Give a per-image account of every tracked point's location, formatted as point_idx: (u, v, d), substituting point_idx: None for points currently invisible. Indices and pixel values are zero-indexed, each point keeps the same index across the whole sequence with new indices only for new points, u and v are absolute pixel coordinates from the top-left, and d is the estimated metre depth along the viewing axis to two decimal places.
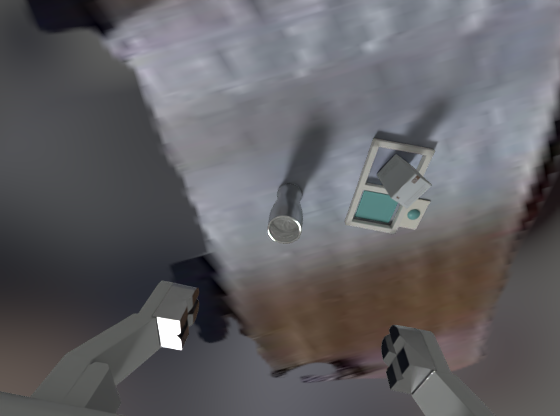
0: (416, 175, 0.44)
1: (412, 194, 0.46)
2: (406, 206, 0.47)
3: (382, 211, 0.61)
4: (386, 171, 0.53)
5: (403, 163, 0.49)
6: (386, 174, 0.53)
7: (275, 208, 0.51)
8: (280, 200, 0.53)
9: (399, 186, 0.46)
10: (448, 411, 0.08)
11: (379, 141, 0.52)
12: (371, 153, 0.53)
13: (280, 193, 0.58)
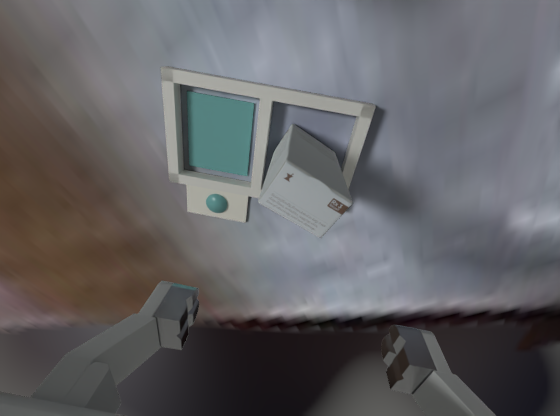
0: (347, 206, 0.19)
1: (299, 206, 0.19)
2: (264, 200, 0.19)
3: (211, 149, 0.30)
4: (310, 141, 0.25)
5: (340, 170, 0.24)
6: (308, 142, 0.24)
7: None
8: None
9: (315, 175, 0.18)
10: (448, 411, 0.08)
11: (370, 116, 0.25)
12: (345, 103, 0.25)
13: None
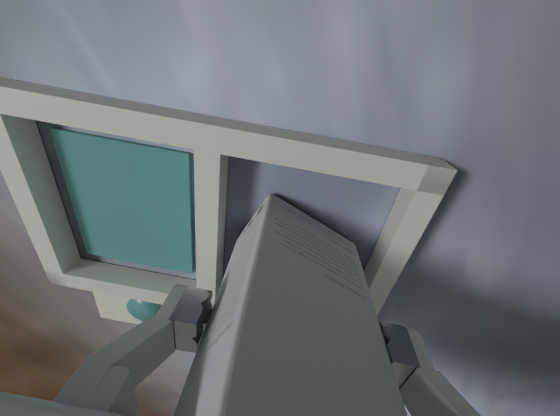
0: None
1: None
2: None
3: (121, 230, 0.16)
4: (306, 244, 0.11)
5: (381, 338, 0.10)
6: (301, 257, 0.10)
7: None
8: None
9: None
10: (431, 408, 0.08)
11: (441, 190, 0.11)
12: (387, 163, 0.11)
13: None
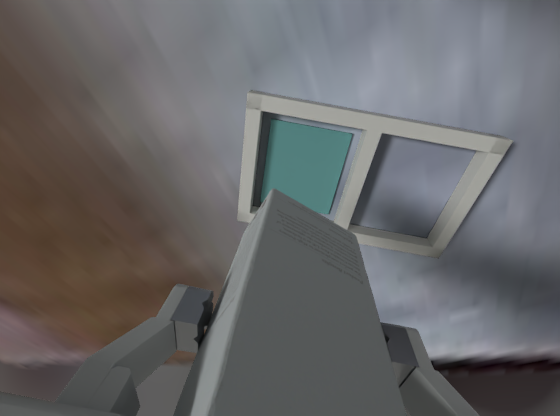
0: None
1: None
2: None
3: (290, 184, 0.25)
4: (306, 233, 0.12)
5: (376, 317, 0.10)
6: (300, 244, 0.11)
7: None
8: None
9: None
10: (430, 407, 0.08)
11: (503, 152, 0.21)
12: (475, 137, 0.20)
13: None
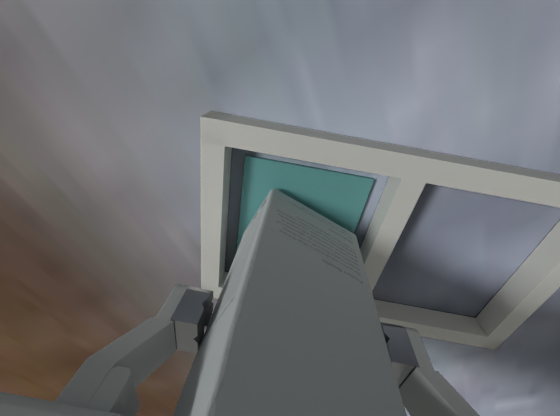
0: None
1: None
2: None
3: None
4: (305, 232, 0.12)
5: (376, 317, 0.10)
6: (300, 244, 0.11)
7: None
8: None
9: None
10: (430, 407, 0.08)
11: None
12: None
13: None
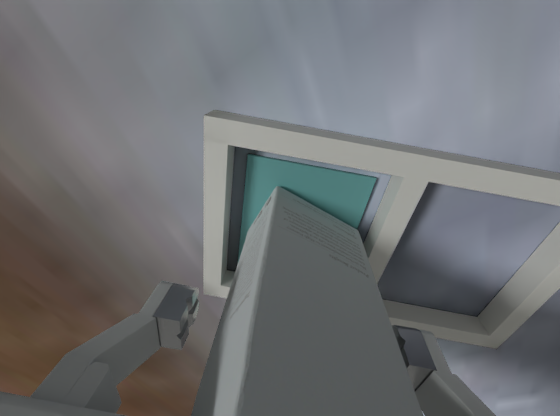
0: None
1: None
2: None
3: None
4: (312, 229, 0.12)
5: (383, 309, 0.10)
6: (308, 240, 0.12)
7: None
8: None
9: None
10: (448, 411, 0.08)
11: None
12: None
13: None
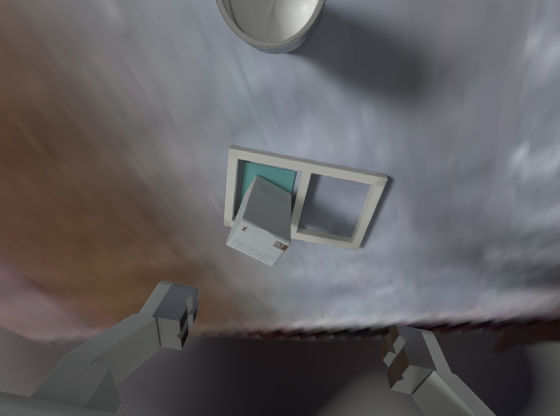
0: (287, 245, 0.27)
1: (254, 246, 0.27)
2: (230, 243, 0.27)
3: None
4: (268, 190, 0.34)
5: (289, 213, 0.32)
6: (266, 192, 0.33)
7: None
8: None
9: (263, 226, 0.27)
10: (448, 411, 0.08)
11: (383, 185, 0.34)
12: (366, 176, 0.34)
13: None
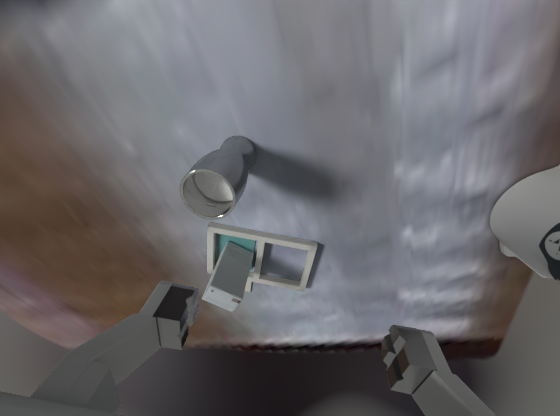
0: (240, 300, 0.42)
1: (219, 300, 0.43)
2: (204, 298, 0.43)
3: None
4: (235, 254, 0.49)
5: (247, 273, 0.47)
6: (232, 257, 0.48)
7: (236, 169, 0.31)
8: (244, 166, 0.34)
9: (224, 288, 0.42)
10: (448, 411, 0.08)
11: (315, 250, 0.49)
12: (302, 245, 0.49)
13: (244, 149, 0.38)
